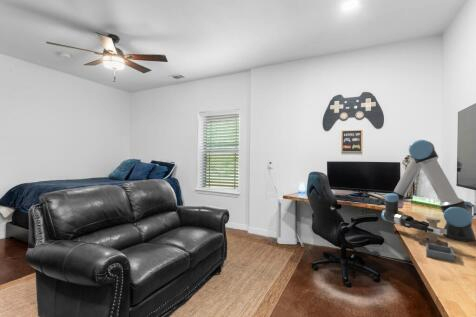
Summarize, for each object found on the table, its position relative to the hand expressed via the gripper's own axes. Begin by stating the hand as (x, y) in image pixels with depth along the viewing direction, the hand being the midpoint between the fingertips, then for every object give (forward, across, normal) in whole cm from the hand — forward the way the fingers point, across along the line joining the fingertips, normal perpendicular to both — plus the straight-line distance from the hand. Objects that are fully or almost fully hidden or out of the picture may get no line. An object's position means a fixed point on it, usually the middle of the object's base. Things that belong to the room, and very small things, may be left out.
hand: (443, 232), depth 129 cm
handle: (-5, 0, -9) cm, 11 cm away
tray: (+6, +10, -10) cm, 15 cm away
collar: (-5, 0, -10) cm, 11 cm away
